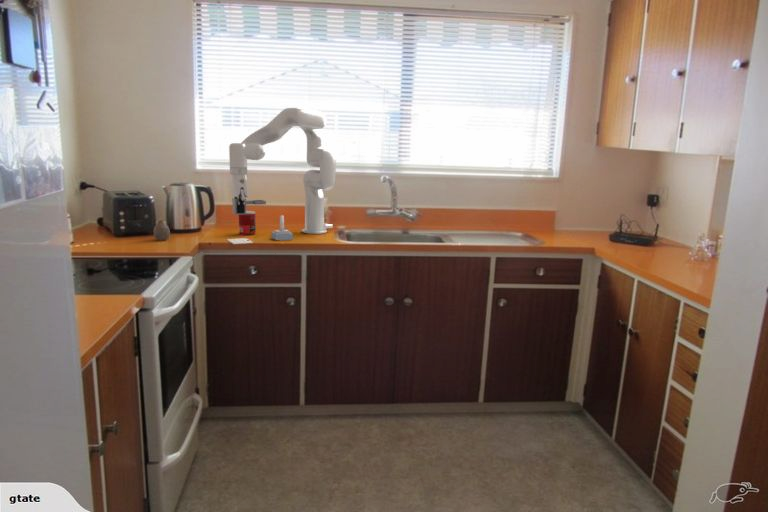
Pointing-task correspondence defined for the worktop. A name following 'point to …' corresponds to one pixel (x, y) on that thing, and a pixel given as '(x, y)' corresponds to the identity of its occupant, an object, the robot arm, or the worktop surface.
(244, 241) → the mat
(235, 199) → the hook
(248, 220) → the canned food
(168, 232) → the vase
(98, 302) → the worktop surface
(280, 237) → the grey joystick
